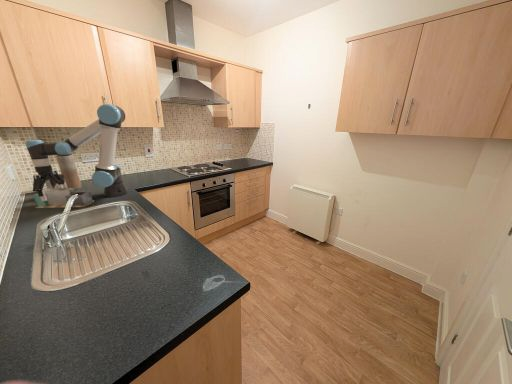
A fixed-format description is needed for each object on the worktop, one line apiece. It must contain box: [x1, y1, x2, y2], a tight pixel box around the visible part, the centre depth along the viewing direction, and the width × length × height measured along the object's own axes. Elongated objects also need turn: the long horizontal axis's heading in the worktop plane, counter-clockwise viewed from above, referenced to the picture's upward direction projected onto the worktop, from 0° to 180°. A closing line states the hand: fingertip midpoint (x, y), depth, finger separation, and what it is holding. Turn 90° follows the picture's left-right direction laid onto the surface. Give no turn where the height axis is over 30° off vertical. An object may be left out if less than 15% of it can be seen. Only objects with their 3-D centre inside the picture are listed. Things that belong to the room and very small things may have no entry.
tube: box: [42, 187, 77, 205], centre depth 132 cm, size 18×5×10 cm, turn 94°
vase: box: [55, 153, 83, 190], centre depth 163 cm, size 10×10×28 cm
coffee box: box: [44, 173, 67, 189], centre depth 147 cm, size 9×6×16 cm
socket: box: [32, 192, 46, 207], centre depth 132 cm, size 5×8×8 cm, turn 4°
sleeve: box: [65, 191, 94, 206], centre depth 134 cm, size 10×8×7 cm
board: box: [34, 200, 95, 209], centre depth 134 cm, size 30×10×1 cm, turn 94°
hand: (54, 197), depth 132 cm, fingers open, 13 cm apart
